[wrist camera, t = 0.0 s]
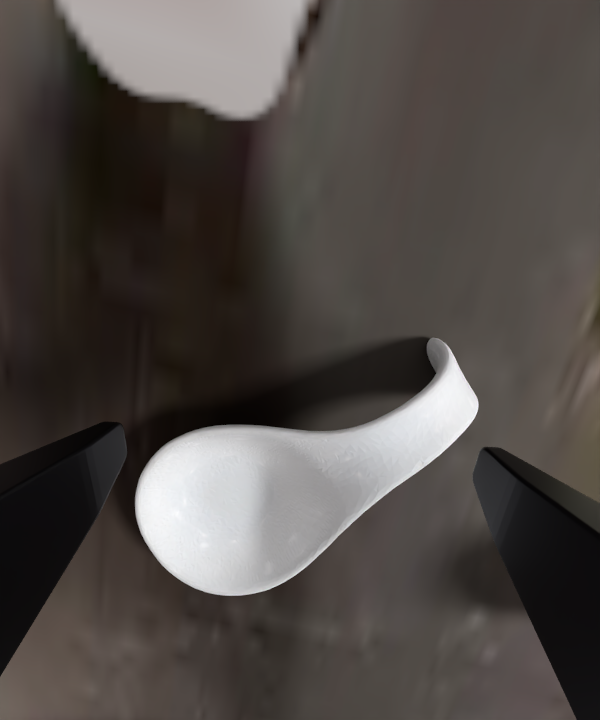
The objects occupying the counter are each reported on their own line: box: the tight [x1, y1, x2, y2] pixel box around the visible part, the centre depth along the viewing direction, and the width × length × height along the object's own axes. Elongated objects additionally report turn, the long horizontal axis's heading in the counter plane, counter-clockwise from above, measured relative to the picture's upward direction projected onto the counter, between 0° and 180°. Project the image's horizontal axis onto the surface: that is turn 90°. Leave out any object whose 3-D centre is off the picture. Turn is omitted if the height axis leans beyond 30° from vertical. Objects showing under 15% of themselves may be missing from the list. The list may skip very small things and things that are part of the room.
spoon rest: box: [135, 338, 478, 596], centre depth 22 cm, size 24×12×7 cm, turn 122°
